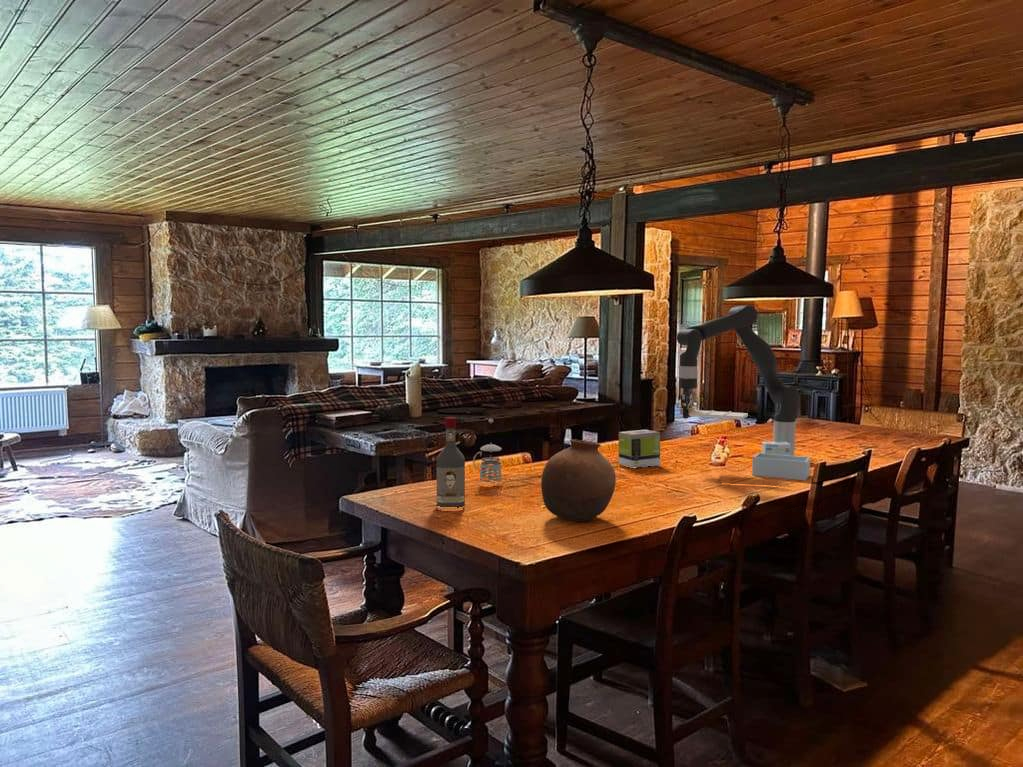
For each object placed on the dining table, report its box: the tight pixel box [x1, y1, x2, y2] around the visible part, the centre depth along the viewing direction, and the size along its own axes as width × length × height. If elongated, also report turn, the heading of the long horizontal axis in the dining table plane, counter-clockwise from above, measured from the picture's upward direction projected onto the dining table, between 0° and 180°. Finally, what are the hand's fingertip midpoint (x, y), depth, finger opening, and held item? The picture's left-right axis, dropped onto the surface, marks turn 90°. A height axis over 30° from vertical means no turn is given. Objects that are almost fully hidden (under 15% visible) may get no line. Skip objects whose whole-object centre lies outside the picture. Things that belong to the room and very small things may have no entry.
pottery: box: [540, 438, 617, 522], centre depth 231 cm, size 23×23×25 cm
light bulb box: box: [761, 441, 791, 456], centre depth 314 cm, size 11×7×11 cm, turn 84°
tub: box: [751, 452, 811, 481], centre depth 295 cm, size 11×20×8 cm, turn 62°
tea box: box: [618, 429, 661, 469], centre depth 318 cm, size 15×10×15 cm, turn 115°
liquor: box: [436, 416, 466, 508], centre depth 244 cm, size 9×9×30 cm
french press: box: [472, 418, 502, 483], centre depth 280 cm, size 10×12×25 cm
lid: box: [679, 407, 749, 420], centre depth 306 cm, size 12×26×2 cm, turn 62°
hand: (687, 417), depth 311 cm, fingers closed on lid, 4 cm apart
